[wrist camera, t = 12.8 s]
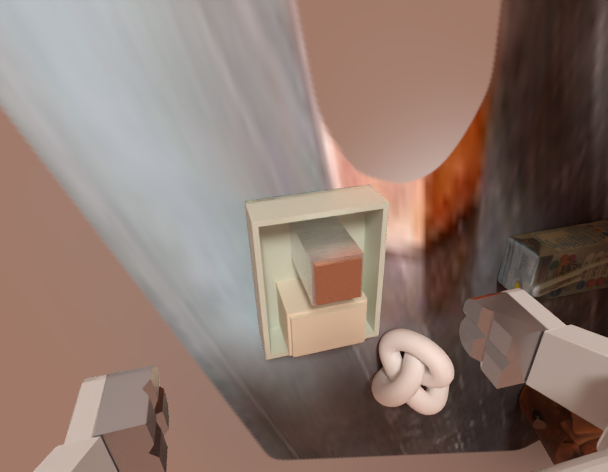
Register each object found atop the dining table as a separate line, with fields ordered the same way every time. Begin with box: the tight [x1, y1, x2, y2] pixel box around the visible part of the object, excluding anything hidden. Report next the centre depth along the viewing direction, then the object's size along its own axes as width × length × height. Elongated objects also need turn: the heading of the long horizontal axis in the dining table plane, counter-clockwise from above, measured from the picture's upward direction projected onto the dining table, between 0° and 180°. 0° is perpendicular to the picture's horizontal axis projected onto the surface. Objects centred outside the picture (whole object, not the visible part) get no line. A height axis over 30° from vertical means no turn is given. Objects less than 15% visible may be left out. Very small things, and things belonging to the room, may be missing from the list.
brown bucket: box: [519, 384, 604, 465], centre depth 67 cm, size 18×20×18 cm
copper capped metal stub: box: [289, 216, 364, 306], centre depth 41 cm, size 5×5×9 cm
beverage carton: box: [498, 219, 608, 301], centre depth 55 cm, size 8×19×7 cm, turn 92°
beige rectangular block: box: [276, 278, 367, 357], centre depth 47 cm, size 9×6×7 cm, turn 92°
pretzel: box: [371, 328, 454, 415], centre depth 55 cm, size 11×12×9 cm
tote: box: [245, 185, 389, 360], centre depth 46 cm, size 14×18×5 cm
